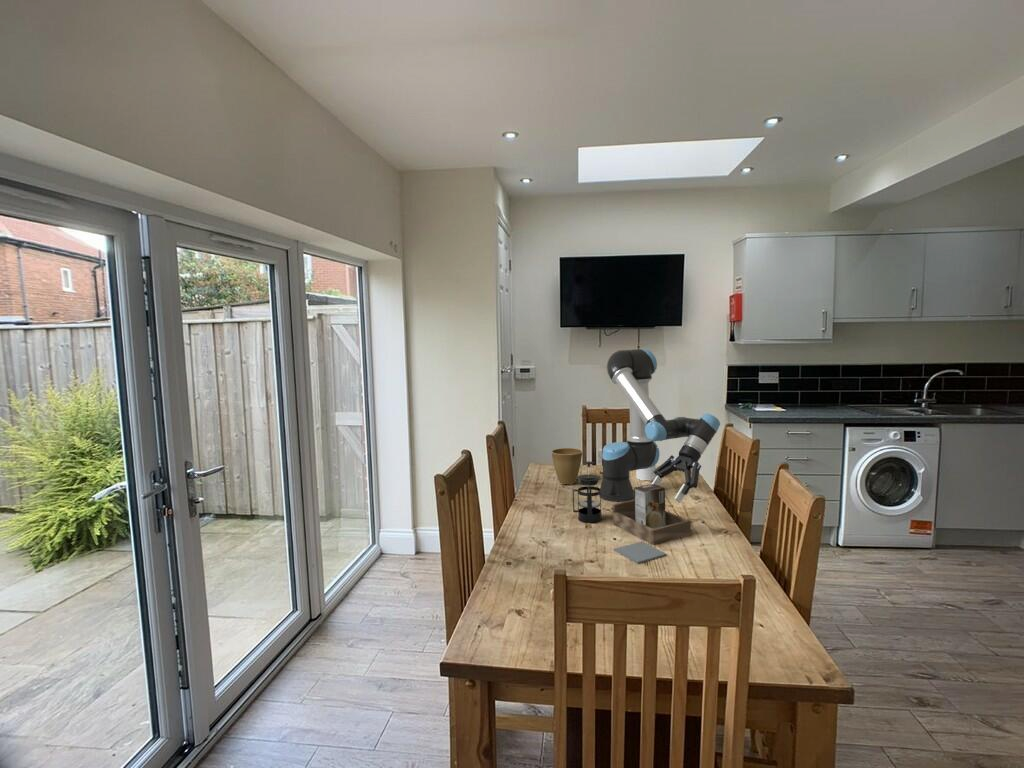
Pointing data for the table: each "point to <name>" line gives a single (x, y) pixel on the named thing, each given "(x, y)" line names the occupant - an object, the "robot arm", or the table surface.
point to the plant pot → (567, 464)
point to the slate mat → (640, 552)
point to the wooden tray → (626, 521)
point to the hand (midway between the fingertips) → (663, 496)
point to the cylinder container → (646, 473)
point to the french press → (588, 498)
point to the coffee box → (650, 505)
